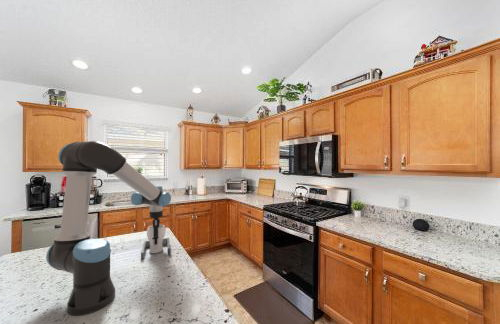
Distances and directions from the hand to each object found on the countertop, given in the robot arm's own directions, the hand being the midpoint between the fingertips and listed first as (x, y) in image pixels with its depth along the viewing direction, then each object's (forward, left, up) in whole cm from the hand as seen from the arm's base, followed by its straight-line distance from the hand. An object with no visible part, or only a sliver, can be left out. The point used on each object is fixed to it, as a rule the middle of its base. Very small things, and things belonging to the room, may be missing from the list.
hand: (156, 246), depth 128 cm
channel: (0, 0, -3) cm, 3 cm away
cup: (0, 0, -3) cm, 3 cm away
